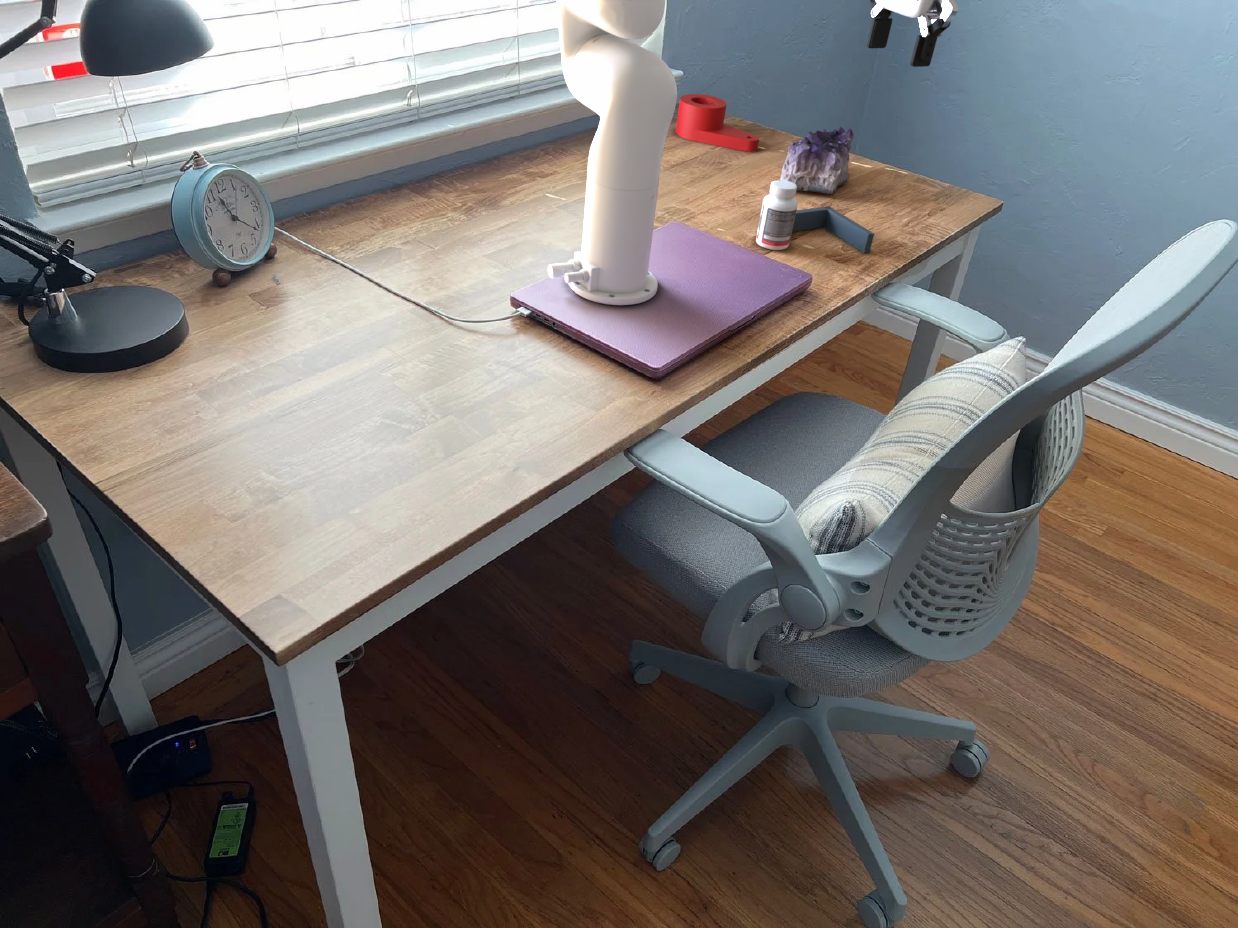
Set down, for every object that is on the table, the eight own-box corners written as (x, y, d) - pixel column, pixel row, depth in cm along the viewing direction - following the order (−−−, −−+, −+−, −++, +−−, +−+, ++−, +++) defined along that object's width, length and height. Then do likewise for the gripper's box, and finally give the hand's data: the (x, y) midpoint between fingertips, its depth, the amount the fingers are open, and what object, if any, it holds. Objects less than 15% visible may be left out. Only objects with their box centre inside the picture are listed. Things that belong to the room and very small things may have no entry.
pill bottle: (795, 248, 151) (808, 188, 145) (770, 253, 149) (782, 192, 143) (773, 235, 155) (785, 176, 149) (748, 240, 152) (759, 180, 146)
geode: (798, 159, 187) (816, 109, 182) (853, 181, 185) (873, 131, 179) (767, 184, 172) (786, 130, 166) (826, 208, 169) (847, 154, 163)
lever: (667, 133, 193) (671, 100, 189) (689, 124, 199) (694, 91, 195) (746, 156, 186) (752, 122, 182) (766, 146, 192) (772, 112, 188)
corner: (804, 262, 147) (808, 243, 145) (761, 232, 155) (764, 214, 153) (869, 252, 153) (874, 233, 151) (824, 224, 161) (829, 206, 159)
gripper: (868, -91, 130) (840, 41, 140) (954, -69, 118) (916, 74, 128) (910, -89, 133) (879, 41, 143) (999, -67, 121) (958, 73, 131)
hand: (897, 56), depth 136 cm, fingers open, 9 cm apart
